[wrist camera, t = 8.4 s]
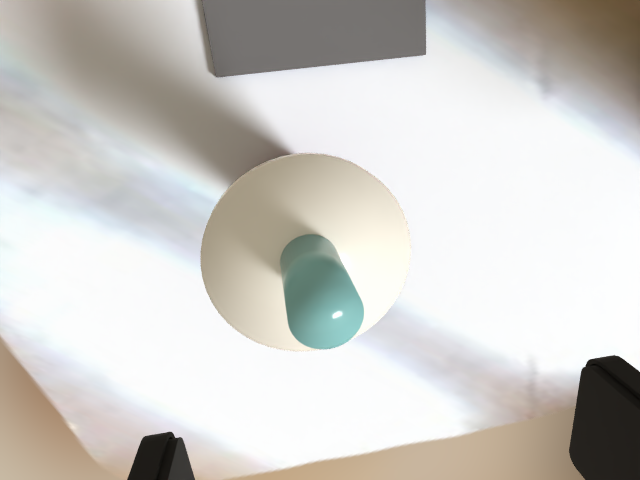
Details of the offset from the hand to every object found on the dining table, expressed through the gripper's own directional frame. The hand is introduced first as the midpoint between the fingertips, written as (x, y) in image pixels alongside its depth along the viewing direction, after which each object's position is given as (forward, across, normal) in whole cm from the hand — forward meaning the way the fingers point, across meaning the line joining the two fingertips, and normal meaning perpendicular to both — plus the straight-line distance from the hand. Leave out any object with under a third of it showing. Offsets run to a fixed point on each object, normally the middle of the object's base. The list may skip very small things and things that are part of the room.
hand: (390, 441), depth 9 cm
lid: (+12, +1, 0) cm, 12 cm away
